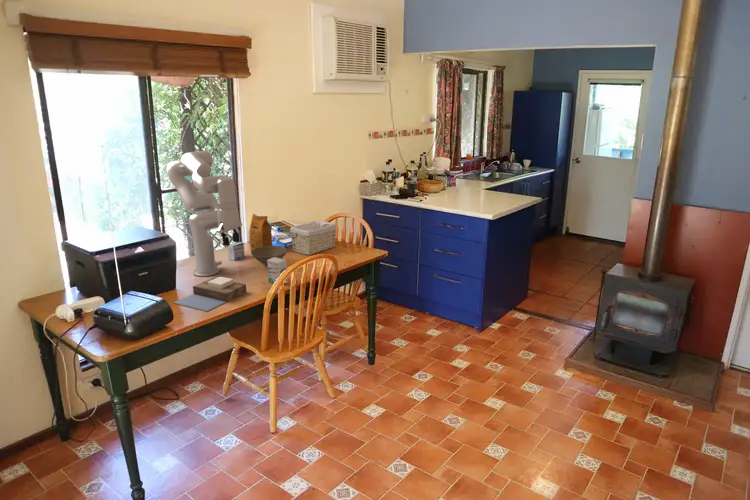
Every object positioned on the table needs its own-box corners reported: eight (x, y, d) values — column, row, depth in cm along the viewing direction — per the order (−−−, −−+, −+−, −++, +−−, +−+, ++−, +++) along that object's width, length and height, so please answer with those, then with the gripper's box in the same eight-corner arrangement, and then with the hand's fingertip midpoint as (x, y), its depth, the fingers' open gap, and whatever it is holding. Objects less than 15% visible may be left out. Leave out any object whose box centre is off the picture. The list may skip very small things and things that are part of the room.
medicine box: (234, 261, 285) (233, 246, 283) (228, 259, 287) (227, 244, 285) (245, 257, 292) (243, 242, 289) (239, 256, 294) (238, 241, 291)
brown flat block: (214, 285, 250) (213, 277, 248) (246, 292, 241) (245, 284, 240) (193, 294, 239) (192, 286, 237) (226, 302, 230) (225, 293, 229)
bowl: (269, 272, 267) (268, 257, 265) (244, 266, 277) (243, 251, 274) (294, 262, 282) (293, 248, 279) (269, 257, 291) (268, 243, 289)
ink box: (268, 282, 253) (266, 259, 250) (275, 279, 257) (273, 256, 254) (280, 285, 249) (279, 262, 245) (288, 282, 253) (286, 259, 249)
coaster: (220, 280, 245) (220, 276, 244) (233, 283, 241) (233, 279, 240) (208, 286, 238) (207, 281, 237) (221, 288, 234) (220, 284, 234)
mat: (193, 294, 238) (193, 293, 238) (226, 302, 230) (226, 301, 229) (173, 303, 229) (173, 302, 229) (207, 311, 220) (207, 310, 220)
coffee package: (260, 248, 309) (258, 211, 302) (275, 251, 301) (272, 214, 295) (247, 252, 301) (244, 215, 295) (261, 256, 294) (259, 218, 287)
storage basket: (318, 242, 319) (317, 219, 315) (338, 247, 310) (337, 223, 305) (289, 251, 301) (288, 227, 297) (309, 257, 292) (308, 231, 287)
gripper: (234, 201, 246) (237, 238, 251) (207, 208, 231) (211, 247, 236) (247, 202, 242) (250, 240, 247) (220, 210, 228) (224, 249, 233)
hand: (231, 243), depth 242 cm, fingers open, 5 cm apart
